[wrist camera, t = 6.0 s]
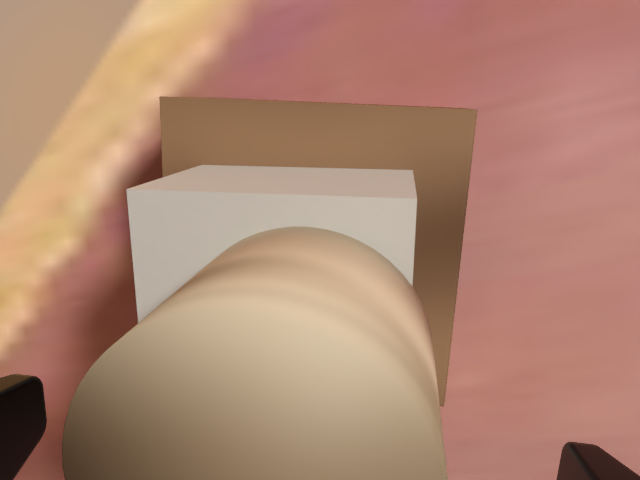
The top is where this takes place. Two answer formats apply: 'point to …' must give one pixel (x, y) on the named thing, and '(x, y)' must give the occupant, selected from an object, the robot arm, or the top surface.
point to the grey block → (260, 216)
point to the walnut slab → (348, 152)
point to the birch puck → (268, 374)
